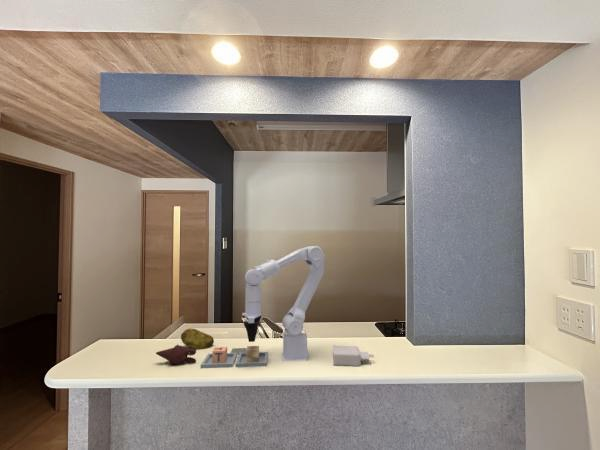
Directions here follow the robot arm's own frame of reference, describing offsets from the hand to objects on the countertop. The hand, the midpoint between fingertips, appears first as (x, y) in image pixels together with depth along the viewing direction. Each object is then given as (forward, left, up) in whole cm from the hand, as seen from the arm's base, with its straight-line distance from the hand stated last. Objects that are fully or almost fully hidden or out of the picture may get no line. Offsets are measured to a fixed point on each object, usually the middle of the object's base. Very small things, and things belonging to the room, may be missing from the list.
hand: (252, 338), depth 107 cm
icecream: (+28, 0, -9) cm, 29 cm away
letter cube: (+12, 0, -8) cm, 14 cm away
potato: (+25, -17, -9) cm, 31 cm away
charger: (-37, +3, -9) cm, 39 cm away
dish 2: (0, 0, -8) cm, 8 cm away
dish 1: (+12, 0, -8) cm, 15 cm away
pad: (+6, -10, -8) cm, 14 cm away
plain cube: (0, 0, -8) cm, 8 cm away
